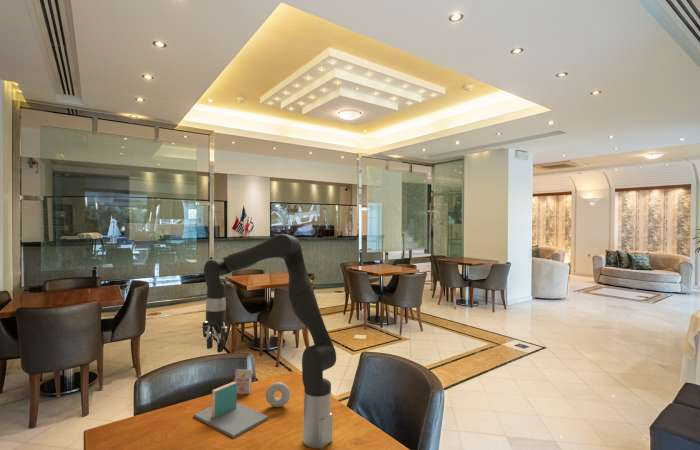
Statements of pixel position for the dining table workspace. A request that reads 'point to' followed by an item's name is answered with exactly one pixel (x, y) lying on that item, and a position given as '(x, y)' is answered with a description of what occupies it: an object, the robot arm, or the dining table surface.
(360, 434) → the dining table surface
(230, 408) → the tile
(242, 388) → the white printed carton
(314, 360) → the robot arm
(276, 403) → the donut
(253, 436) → the dining table surface
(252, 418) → the board
